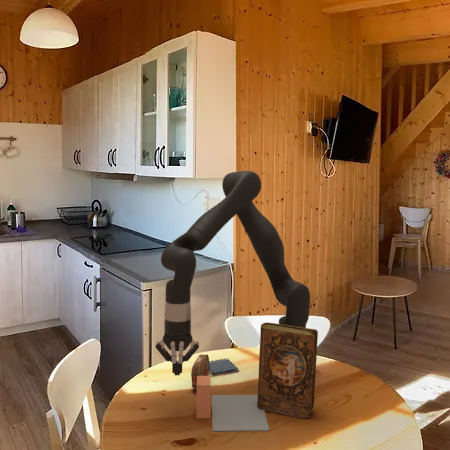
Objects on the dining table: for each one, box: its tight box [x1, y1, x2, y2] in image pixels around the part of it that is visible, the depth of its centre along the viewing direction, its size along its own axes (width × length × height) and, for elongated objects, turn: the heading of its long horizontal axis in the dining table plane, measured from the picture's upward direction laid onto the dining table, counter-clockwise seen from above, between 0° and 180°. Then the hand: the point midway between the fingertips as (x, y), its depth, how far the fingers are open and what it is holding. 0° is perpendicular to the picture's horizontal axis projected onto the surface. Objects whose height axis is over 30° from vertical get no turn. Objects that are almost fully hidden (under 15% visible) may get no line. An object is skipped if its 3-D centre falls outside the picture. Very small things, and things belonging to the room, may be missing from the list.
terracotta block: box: [195, 375, 212, 419], centre depth 141 cm, size 4×6×10 cm, turn 3°
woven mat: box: [209, 357, 240, 377], centre depth 171 cm, size 10×11×2 cm
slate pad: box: [211, 394, 270, 432], centre depth 142 cm, size 16×20×1 cm
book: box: [257, 322, 319, 419], centre depth 142 cm, size 16×6×25 cm, turn 71°
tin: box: [190, 353, 210, 390], centre depth 160 cm, size 15×3×8 cm, turn 168°
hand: (177, 374), depth 140 cm, fingers closed
